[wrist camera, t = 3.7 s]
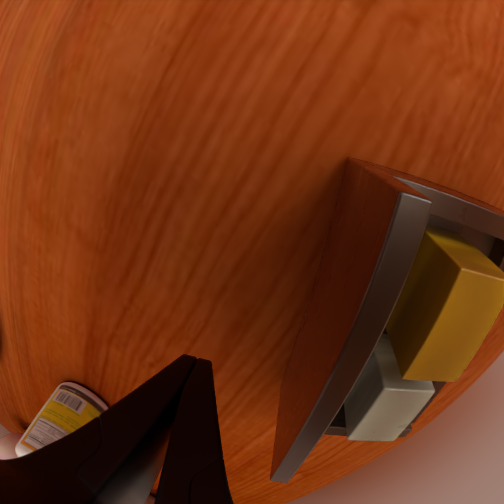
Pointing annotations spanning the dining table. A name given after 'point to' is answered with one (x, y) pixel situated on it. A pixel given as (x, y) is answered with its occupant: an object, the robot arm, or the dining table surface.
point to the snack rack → (389, 310)
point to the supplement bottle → (60, 416)
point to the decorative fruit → (9, 445)
